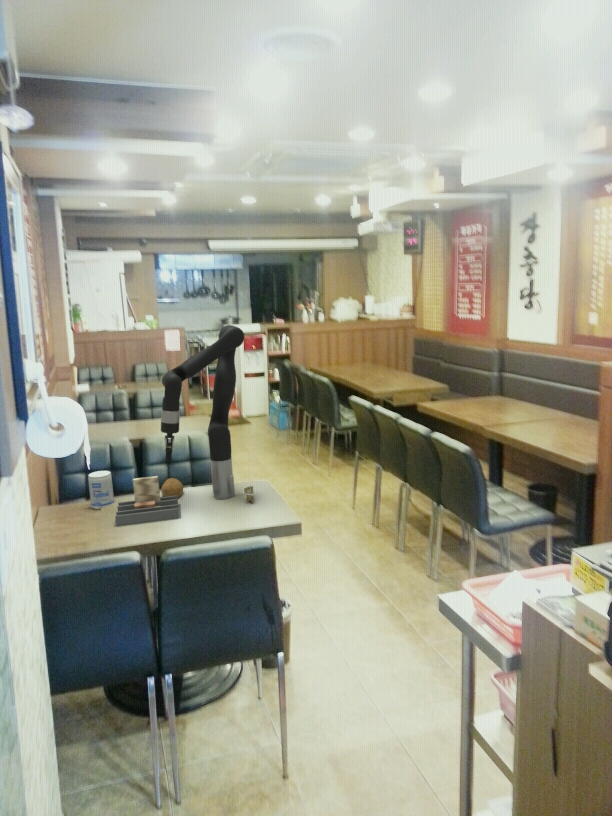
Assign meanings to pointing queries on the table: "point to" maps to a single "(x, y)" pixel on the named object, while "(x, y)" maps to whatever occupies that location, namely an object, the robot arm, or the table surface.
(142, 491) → the sheet
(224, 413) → the robot arm
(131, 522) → the rack
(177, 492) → the potato
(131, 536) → the table surface
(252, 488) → the mottled beige figurine
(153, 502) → the offcut upper
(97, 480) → the supplement tub
